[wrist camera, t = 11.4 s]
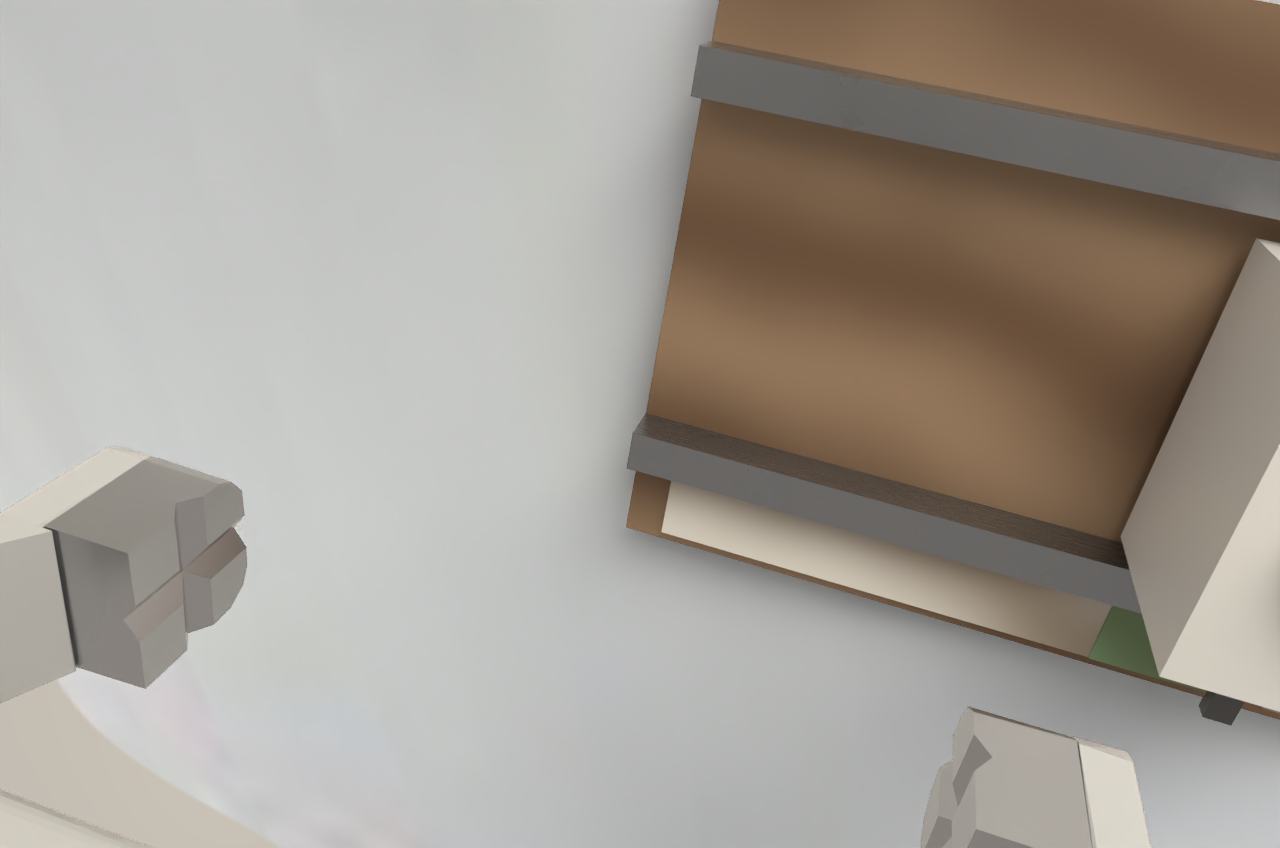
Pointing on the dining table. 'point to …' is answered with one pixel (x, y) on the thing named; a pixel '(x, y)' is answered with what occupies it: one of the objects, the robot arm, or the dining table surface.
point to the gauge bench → (957, 293)
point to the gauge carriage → (1219, 511)
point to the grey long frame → (978, 131)
